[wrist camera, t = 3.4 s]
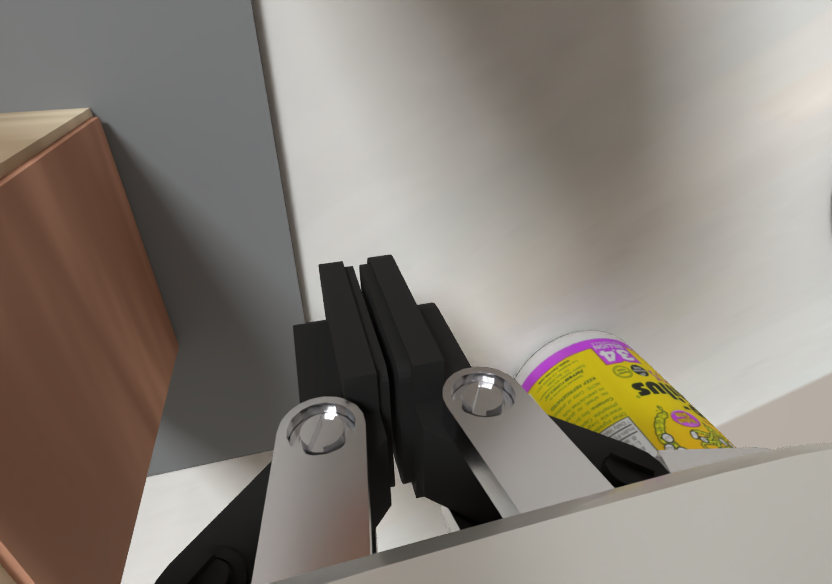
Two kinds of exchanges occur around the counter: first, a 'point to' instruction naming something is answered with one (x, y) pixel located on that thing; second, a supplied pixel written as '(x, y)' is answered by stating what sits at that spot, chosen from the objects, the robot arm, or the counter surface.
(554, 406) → the supplement bottle
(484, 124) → the counter surface
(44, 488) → the birch tile
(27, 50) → the rubber mat
